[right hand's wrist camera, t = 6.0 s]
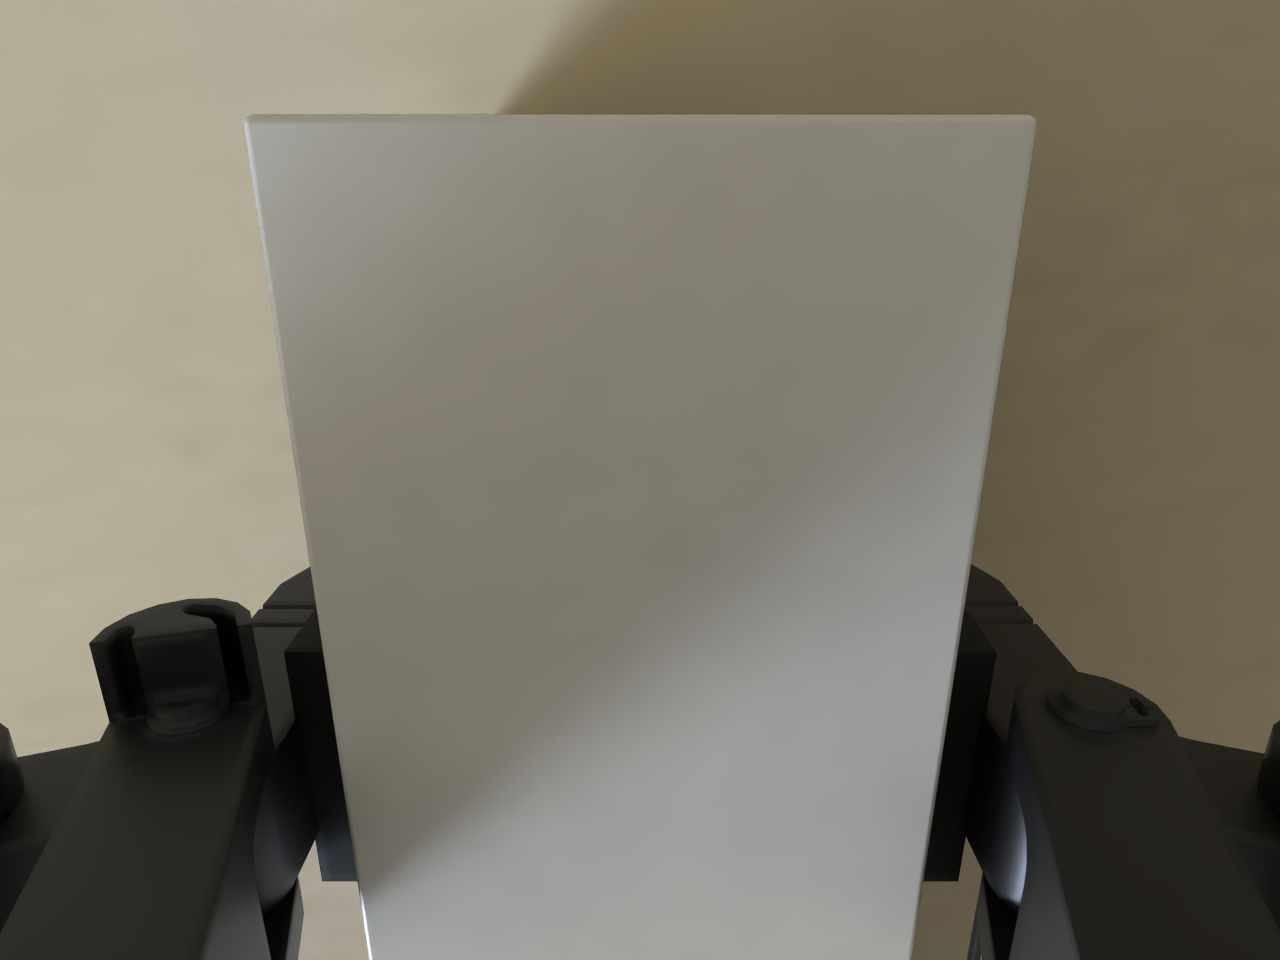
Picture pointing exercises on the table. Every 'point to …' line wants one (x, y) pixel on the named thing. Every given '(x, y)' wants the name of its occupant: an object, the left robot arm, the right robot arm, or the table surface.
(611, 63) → the table surface
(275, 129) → the beam
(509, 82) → the table surface
